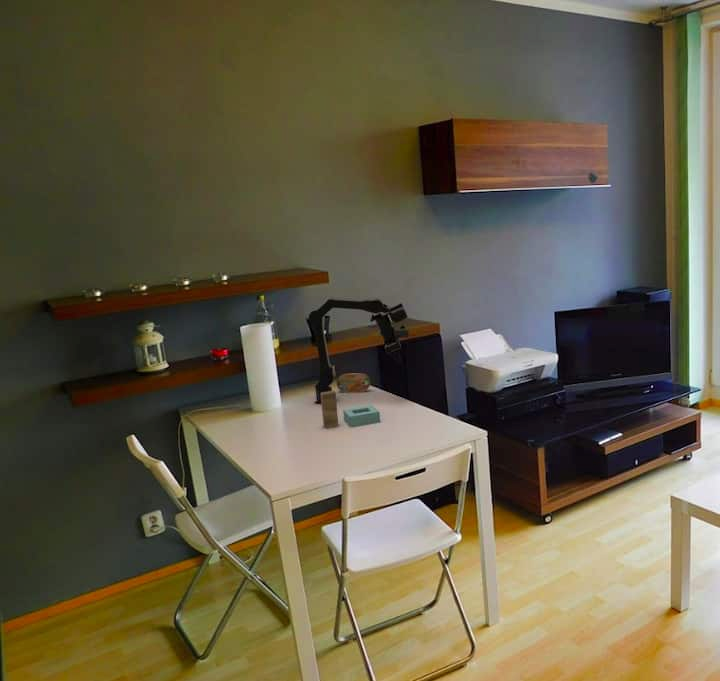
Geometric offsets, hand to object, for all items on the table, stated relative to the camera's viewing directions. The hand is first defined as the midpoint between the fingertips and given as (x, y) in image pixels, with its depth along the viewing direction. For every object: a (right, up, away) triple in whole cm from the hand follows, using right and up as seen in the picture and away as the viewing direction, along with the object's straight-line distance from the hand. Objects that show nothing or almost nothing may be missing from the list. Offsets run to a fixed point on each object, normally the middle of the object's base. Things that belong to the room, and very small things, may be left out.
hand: (399, 360), depth 254 cm
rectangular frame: (-16, -22, -24) cm, 36 cm away
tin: (-19, -14, +17) cm, 30 cm away
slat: (-27, -23, -27) cm, 45 cm away
